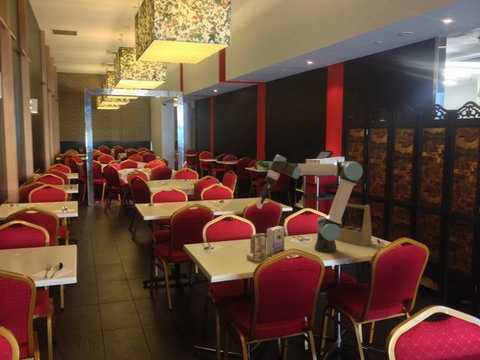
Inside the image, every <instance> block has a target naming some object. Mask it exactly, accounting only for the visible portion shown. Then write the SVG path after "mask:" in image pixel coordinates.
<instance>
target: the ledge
mask: <svg viewBox="0 0 480 360" xmlns="http://www.w3.org/2000/svg"><path fill="white" fill-rule="evenodd" d="M269 257H272V258H273V254H272V251H269V252H267V251H266V252H261V253H254V254H251V253H248V254H246V260H248V261H251V262H252V263H256V262H258V263H259V262H262V261H263V260H264V261H266V260H265V259H268V258H269Z"/></svg>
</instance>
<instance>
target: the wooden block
mask: <svg viewBox="0 0 480 360" xmlns="http://www.w3.org/2000/svg"><path fill="white" fill-rule="evenodd" d="M261 252H267V233H263V232H262V233H254V234H250V254H254V253H261Z"/></svg>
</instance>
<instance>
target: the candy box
mask: <svg viewBox="0 0 480 360" xmlns="http://www.w3.org/2000/svg"><path fill="white" fill-rule="evenodd" d="M284 250H285V226H281V225H277V226H274V227H270V228H269V227H268V228H267V229H266V252H269V251H272V255H273V254H276V253H278V252H281V251H284Z"/></svg>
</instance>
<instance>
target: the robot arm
mask: <svg viewBox="0 0 480 360" xmlns="http://www.w3.org/2000/svg"><path fill="white" fill-rule="evenodd" d="M363 171H364V170H363V167H362V166H361V165H360V163H359V162H356V161H351V160H345V161H335V162H334V163H290V162H288V161H287V158H286V157H284V156H282V155H279V154H276V155H275V157H274V159H273V161H272V163H271V166H270V168H269V170H267V175H266V176H265V178H264V182H266V184H265V185H264V187H263V189H262V191H261V192H260V196H259V199H258V200H257V202H256V204H255V205H256V208H258V209H260V210H262V208H263V205H264V203H265V201H266V200H267V198H268V194H269V192H270V190H271V189H272V186H276V183H277V180H278V179H279V178H280V175H281V173H283V174H286V175H287V176H289V177H290V178H294V179H299V177H300V176H303V175H304V176H305V175H310V176H311V175H319V176H321V175H324V176H325V175H326V176H328V175H329V176H330V175H332V176H333V175H334V176H335V177H339V178H338V179H339V181H340V183H339V185H338V188H337V191H336V194H335V196H334V199H333V200H332V201H333V202H332V205H331V208H330V210H329V213H328V215H326V216H323V217H321V216H320V217H318V218H317V226H316V227H317V231H316V233H317V235H316V236H317V237H316V241H315V245H314V251H316V252H319V253H335V252H337V245H336V241H337V240H336V239H337V238H338V237H339V236H340V228H341V225H343V221H342V222H341V218H342V219H343V216H344V212H345V209H346V208H347V207H346V204H347V203H348V201H349V199H350V195H351V193H352V190H353V187H354V186H357V184H358V181H359V180H360V178H361V177H362V175H363Z"/></svg>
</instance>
